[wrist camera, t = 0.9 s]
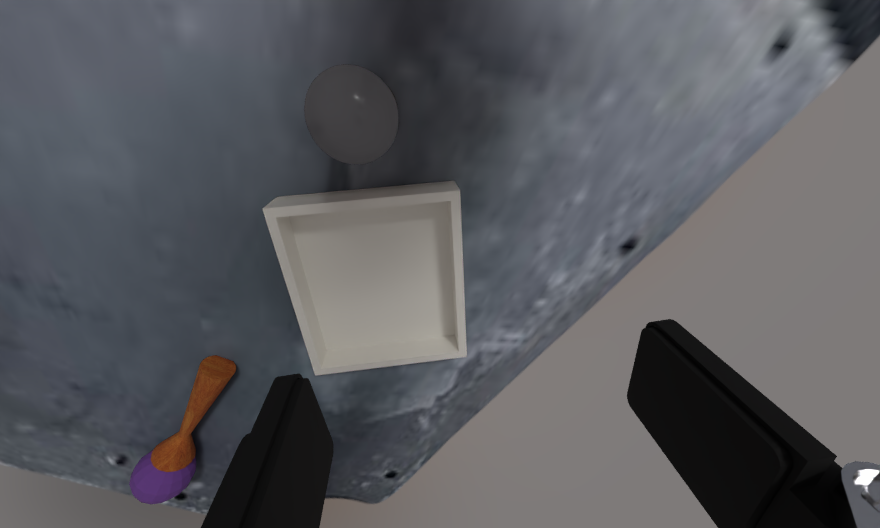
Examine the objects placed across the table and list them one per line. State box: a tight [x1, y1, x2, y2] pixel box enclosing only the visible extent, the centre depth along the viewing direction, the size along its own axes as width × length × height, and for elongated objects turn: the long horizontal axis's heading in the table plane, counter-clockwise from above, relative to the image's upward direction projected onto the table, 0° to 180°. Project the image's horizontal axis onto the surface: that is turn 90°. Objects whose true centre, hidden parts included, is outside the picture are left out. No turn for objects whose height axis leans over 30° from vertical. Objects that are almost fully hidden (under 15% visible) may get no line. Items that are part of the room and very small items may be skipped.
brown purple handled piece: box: [129, 355, 236, 504], centre depth 38 cm, size 6×6×20 cm
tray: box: [262, 181, 467, 376], centre depth 32 cm, size 18×16×4 cm
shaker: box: [304, 64, 399, 165], centre depth 23 cm, size 5×5×9 cm
